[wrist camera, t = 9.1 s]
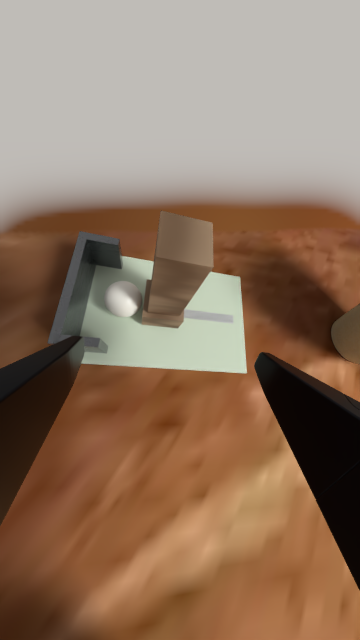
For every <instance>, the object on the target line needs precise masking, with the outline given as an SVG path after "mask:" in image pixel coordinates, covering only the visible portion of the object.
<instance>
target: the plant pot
mask: <svg viewBox="0 0 360 640" xmlns="http://www.w3.org/2000/svg"><path fill="white" fill-rule="evenodd" d="M331 337H332V341H333V344H334V346H335V348H336V349H337V351H338V352H339V353H340V354H341V355H342V356H343V357H344V358H345V359H346V360H348V361H350V362H353V363H357V364H360V304H358V305H357V306H355V307H354V308H353V309H351V310H350V311H348V312H347V313H346V314H344V315H343V316H342V317H340V318H339V319H338V320H336V321H335V322H334V323H333V325H332V328H331Z"/></svg>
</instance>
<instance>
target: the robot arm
mask: <svg viewBox="0 0 360 640" xmlns="http://www.w3.org/2000/svg"><path fill="white" fill-rule="evenodd" d="M84 353H85V349H84V338H83V337H82V336H71V337H69V338H66V339H64V340H62V341H60V342H58V343H56V344H53V345H51V346H49V347H47V348H45V349H42V350H40V351H38V352H36V353H34V354H32V355H29V356H27V357H25V358H23V359H21V360H18V361H16V362H14V363H12V364H10V365H8V366H5V367H3V368H1V369H0V525H1V524H2V522H3V520H4V518H5V516H6V514H7V512H8V510H9V508H10V506H11V504H12V502H13V500H14V498H15V497H16V495H17V493H18V491H19V489H20V487H21V485H22V483H23V481H24V479H25V477H26V475H27V473H28V471H29V470H30V468H31V466H32V464H33V462H34V460H35V458H36V456H37V454H38V452H39V450H40V448H41V446H42V444H43V443H44V441H45V439H46V437H47V435H48V433H49V431H50V429H51V427H52V425H53V423H54V421H55V419H56V417H57V416H58V414H59V412H60V410H61V408H62V406H63V404H64V402H65V400H66V398H67V396H68V394H69V392H70V390H71V388H72V386H73V384H74V381H75V379H76V376H77V373H78V371H79V368H80V365H81V362H82V360H83V357H84ZM254 367H255V370H256V373H257V376H258V378H259V381H260V384H261V386H262V389H263V392H264V394H265V396H266V398H267V400H268V402H269V404H270V407H271V409H272V411H273V413H274V415H275V417H276V419H277V421H278V423H279V425H280V427H281V429H282V431H283V433H284V435H285V437H286V439H287V442H288V444H289V446H290V448H291V450H292V452H293V454H294V456H295V458H296V460H297V462H298V464H299V466H300V468H301V470H302V472H303V475H304V477H305V479H306V481H307V483H308V485H309V487H310V489H311V491H312V493H313V495H314V497H315V499H316V502H317V504H318V506H319V508H320V510H321V512H322V514H323V516H324V518H325V520H326V522H327V524H328V526H329V529H330V531H331V533H332V535H333V537H334V539H335V541H336V543H337V545H338V547H339V549H340V551H341V553H342V555H343V557H344V559H345V562H346V564H347V566H348V568H349V570H350V572H351V574H352V576H353V578H354V580H355V582H356V584H357V586H358V588H359V590H360V402H358V401H356V400H354V399H353V398H351V397H349V396H347V395H345V394H343V393H341V392H340V391H338V390H336V389H334V388H332V387H330V386H329V385H327V384H325V383H323V382H321V381H319V380H318V379H316V378H314V377H312V376H310V375H308V374H307V373H305V372H303V371H301V370H299V369H297V368H296V367H294V366H292V365H290V364H288V363H286V362H284V361H283V360H281V359H279V358H277V357H275V356H273V355H272V354H270V353H265V352H261V353H260V354H259V356H258V358H257V360H256V362H255V365H254Z"/></svg>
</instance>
